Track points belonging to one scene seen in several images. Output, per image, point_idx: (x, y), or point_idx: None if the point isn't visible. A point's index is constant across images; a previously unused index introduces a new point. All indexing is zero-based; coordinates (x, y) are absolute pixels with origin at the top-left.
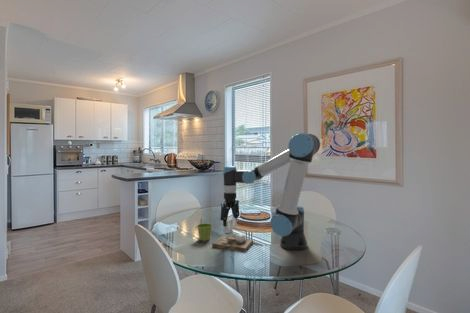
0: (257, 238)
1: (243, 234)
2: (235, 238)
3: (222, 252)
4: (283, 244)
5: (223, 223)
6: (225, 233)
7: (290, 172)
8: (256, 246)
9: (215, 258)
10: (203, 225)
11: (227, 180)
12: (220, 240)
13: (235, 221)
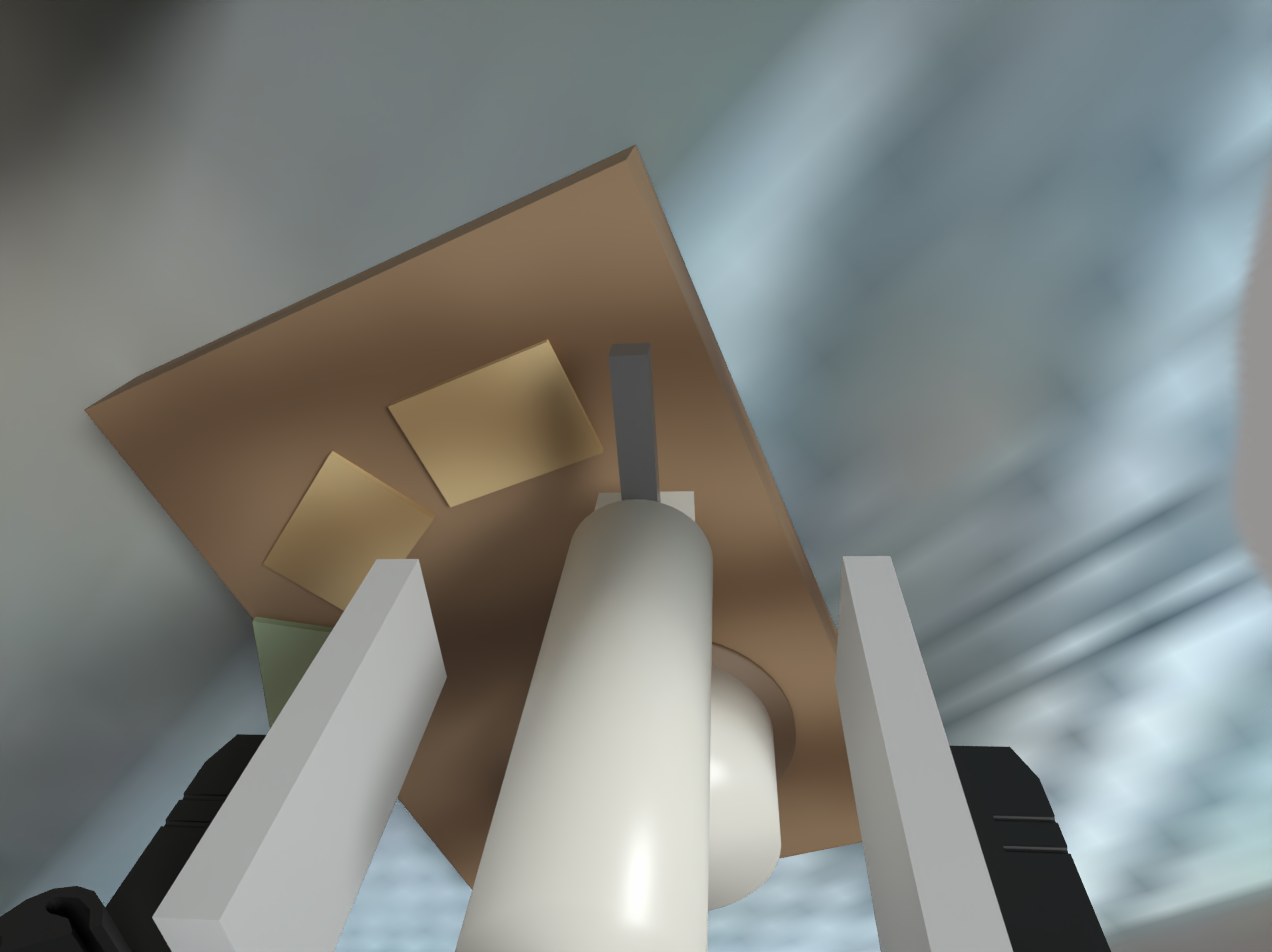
0: (1201, 714)
1: (756, 853)
2: (728, 568)
3: (196, 667)
4: None
5: (157, 852)
6: (612, 360)
7: None
8: (793, 869)
9: (4, 724)
10: None
11: None
12: (359, 404)
13: (876, 913)
